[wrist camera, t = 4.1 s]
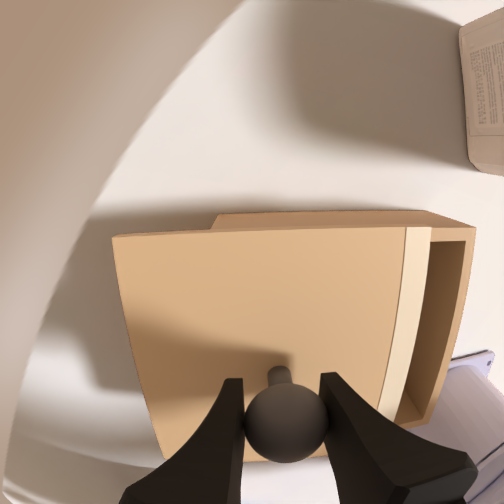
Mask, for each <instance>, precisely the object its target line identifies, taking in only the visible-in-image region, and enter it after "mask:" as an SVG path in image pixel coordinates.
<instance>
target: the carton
mask: <svg viewBox="0 0 504 504" xmlns="http://www.w3.org/2000/svg"><path fill="white" fill-rule="evenodd" d="M369 224H426V225H428V226H431V227H432V228H431V240H430V250H429V260H428V268H427V276H426V283H425V290H424V296H423V303H422V309H421V314H420V320H419V325H418V330H417V335H416V340H415V344H414V349H413V353H412V358H411V362H410V366H409V370H408V374H407V378H406V382H405V385H404V389H403V392H402V396H401V399H400V403H399V406H398V409H397V413H396V416H395V419H394V423H395V424H397V425H398V426H400V427H402V428H403V429H405V430H406V429H410V428H414V427H418V426H421V425H425V424H428V423H429V421H430V418H431V416H432V413H433V411H434V408H435V405H436V403H437V400H438V397H439V394H440V392H441V389H442V386H443V383H444V380H445V377H446V374H447V370H448V367H449V364H450V361H451V357H452V354H453V350H454V347H455V343H456V339H457V335H458V331H459V327H460V323H461V319H462V314H463V310H464V305H465V300H466V295H467V290H468V284H469V279H470V273H471V266H472V259H473V252H474V244H475V235H476V227H473V226H470V225H467V224H465V223H462V222H459V221H456V220H453V219H450V218H447V217H444V216H441V215H438V214H435V213H432V212H429V211H400V210H364V211H297V212H263V213H236V214H218V216H217V218H216V219H215V221H214V223H213V225H212V227H211V229H231V228H257V227H286V226H321V225H369Z"/></svg>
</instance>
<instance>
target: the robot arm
mask: <svg viewBox="0 0 504 504" xmlns="http://www.w3.org/2000/svg"><path fill="white" fill-rule="evenodd" d="M494 356H495V353H494V352H493V351H488V352H484V353H480V354H477V355H473V356H469V357H465V358H461V359H457V360H453V361H450V364H449V367H448V370H447V374H446V377H445V380H444V383H443V386H442V389H441V392H440V394H439V397H438V400H437V403H436V405H435V408H434V411H433V413H432V416H431V418H430V421H429V423H428V424H425V425H421V426H418V427H414V428H410V429H406V430H405V429H403V428H402V427H400V426H398V425H397V424H395V423H394V422H392V421H390V420H389V419H387V418H386V417H385V416H383V415H382V414H381V413H379V412H378V411H377V410H376V409H374V408H373V407H372V406H371V405H370V404H368V403H367V402H366V401H365V400H364V399H363V398H362V397H361V396H360V395H359V394H358V393H357V392H355V391H354V390H353V389H352V388H351V387H350V386H349V384H348V383H347V382H346V381H345V380H344V379H343V378H342V377H341V376H340V375H339V374H338V373H337V372H327V373H321V375H320V385H319V394H318V396H319V397H320V398H321V400H322V401H323V403H324V404H325V406H326V409H327V412H328V416H329V428H328V432H327V435H326V438H325V440H324V444H325V448H326V451H327V454H328V457H329V460H330V463H331V466H332V469H333V472H334V476H335V480H336V484H337V489H338V495H339V500H340V504H504V396H503V394H502V393H501V392H500V391H499V390H498V389H497V388H496V387H495V386H494V385H493V384H492V383H491V382H490V380H489V379H488V378H487V376H488V373H489V371H490V368H491V365H492V362H493V359H494ZM244 415H245V405H244V389H243V378H227V379H225V380H224V383H223V386H222V388H221V390H220V392H219V395H218V397H217V398H216V400H215V402H214V404H213V406H212V407H211V409H210V411H209V412H208V414H207V416H206V417H205V418H204V420H203V421H202V423H201V424H200V426H199V427H198V428H197V430H196V431H195V432H194V433H193V435H192V436H191V437H190V438H189V439H188V440H187V442H186V443H185V444H184V445H183V446H182V447H181V448H180V449H179V450H178V451H177V452H176V453H175V454H174V455H173V456H172V457H170V458H169V459H168V460H167V461H166V462H165V463H163V464H162V465H161V466H159V467H158V468H157V469H155V470H154V471H153V472H152V473H150V474H149V475H147V476H146V477H144V478H142V479H141V480H139V481H137V482H136V483H134V484H132V485H131V486H129V487H127V488H126V490H125V492H124V493H123V495H122V498H121V500H120V501H119V504H241V492H240V490H241V476H242V466H243V457H244V447H245V437H246V436H245V433H244V426H243V422H244Z"/></svg>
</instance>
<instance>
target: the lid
mask: <svg viewBox="0 0 504 504" xmlns="http://www.w3.org/2000/svg"><path fill="white" fill-rule="evenodd" d="M431 228H432V227H431V226H428V225H426V224H369V225H321V226H286V227H257V228H231V229H208V230H186V231H167V232H148V233H130V234H117V235H115V236H114V237H112V245H113V252H114V259H115V266H116V272H117V278H118V284H119V290H120V296H121V301H122V306H123V311H124V316H125V321H126V326H127V331H128V335H129V340H130V344H131V348H132V353H133V357H134V361H135V365H136V369H137V372H138V376H139V380H140V384H141V387H142V391H143V394H144V398H145V401H146V405H147V408H148V411H149V415H150V418H151V421H152V424H153V427H154V430H155V433H156V436H157V439H158V442H159V445H160V448H161V451H162V454H163V457H164V459H169V458H170V457H172V456H173V455H174V454H175V453H176V452H177V451H178V450H179V449H180V448H181V447H182V446H183V445H184V444H185V443H186V442H187V440H188V439H189V438H190V437H191V436H192V435H193V433H194V432H195V431H196V430H197V428H198V427H199V426H200V424H201V423H202V421H203V420H204V418H205V417H206V416H207V414H208V412H209V411H210V409H211V407H212V406H213V404H214V402H215V400H216V398H217V397H218V395H219V392H220V390H221V388H222V386H223V383H224V380H225V379H227V378H243V389H244V405H245V415H244V422H243V426H244V433H245V436H246V437H245V447H244V457H243V462H253V461H274V462H278V463H292V462H297V461H300V460H303V459H305V458H309V457H318V456H326V455H328V454H327V451H326V448H325V444H324V440H325V438H326V435H327V432H328V428H329V416H328V412H327V409H326V406H325V404H324V403H323V401H322V400H321V398H320V397H319V396H318V394H319V385H320V375H321V373H327V372H337V373H338V374H339V375H340V376H341V377H342V378H343V379H344V380H345V381H346V382H347V383H348V384H349V386H350V387H351V388H352V389H353V390H354V391H355V392H357V393H358V394H359V395H360V396H361V397H362V398H363V399H364V400H365V401H366V402H367V403H368V404H370V405H371V406H372V407H373V408H374V409H376V410H377V411H378V412H379V413H381V414H382V415H383V416H385V417H386V418H387V419H389V420H390V421H392V422H394V419H395V416H396V413H397V409H398V406H399V403H400V399H401V396H402V392H403V389H404V385H405V382H406V378H407V374H408V370H409V366H410V362H411V358H412V353H413V349H414V344H415V340H416V335H417V330H418V325H419V320H420V314H421V309H422V303H423V296H424V290H425V283H426V276H427V268H428V260H429V250H430V240H431Z"/></svg>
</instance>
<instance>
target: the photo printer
mask: <svg viewBox="0 0 504 504" xmlns="http://www.w3.org/2000/svg"><path fill="white" fill-rule="evenodd" d="M459 47H460V56H461V64H462V73H463V83H464V94H465V108H466V127H467V146H468V155H469V160H470V162H471V163H473V164H474V166H475V167H476V168H477V169H479V170H480V171H482V172H483V173H487V174H492V175H499V176H504V7H503V8H501V9H498V10H496V11H494V12H492V13H489V14H487V15H485V16H483V17H481V18H478V19H476V20H474V21H472V22H470V23H468V24H466V25H464V26H463V27H461V28H460V30H459Z"/></svg>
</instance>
